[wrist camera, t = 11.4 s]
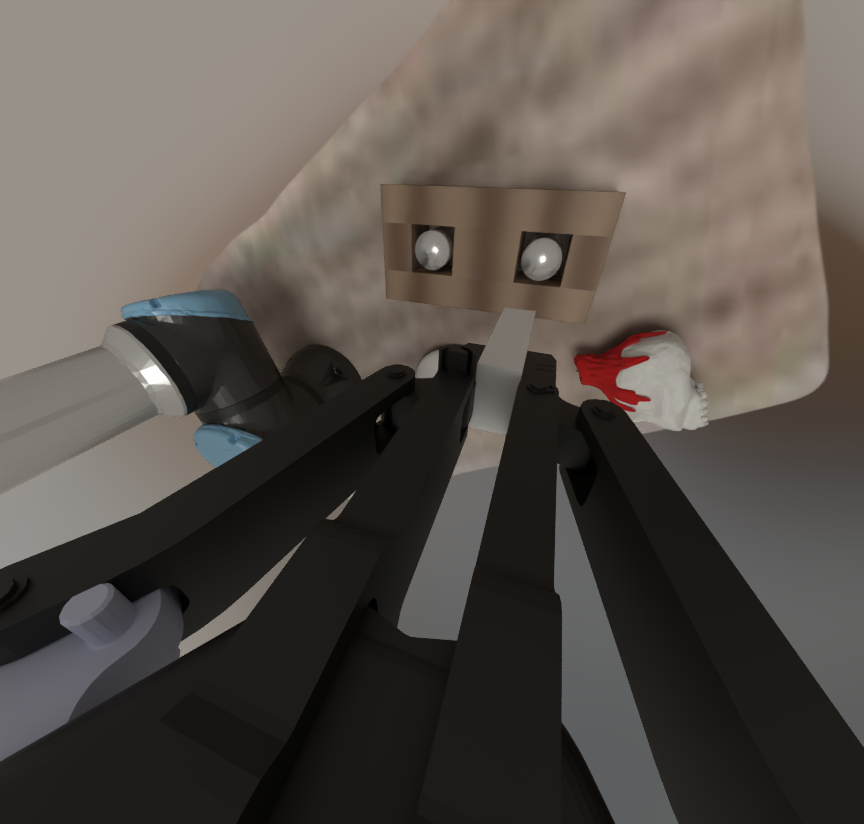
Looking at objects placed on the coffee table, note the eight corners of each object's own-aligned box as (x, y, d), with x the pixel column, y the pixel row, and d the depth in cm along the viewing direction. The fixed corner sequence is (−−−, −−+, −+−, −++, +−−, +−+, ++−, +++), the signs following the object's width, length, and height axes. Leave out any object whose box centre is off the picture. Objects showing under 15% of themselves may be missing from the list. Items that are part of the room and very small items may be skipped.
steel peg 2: (523, 268, 39) (518, 278, 35) (529, 231, 37) (525, 237, 33) (557, 272, 38) (556, 282, 34) (566, 233, 36) (566, 240, 32)
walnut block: (404, 287, 46) (386, 298, 41) (402, 184, 39) (380, 184, 35) (582, 308, 40) (585, 324, 36) (617, 191, 33) (626, 192, 29)
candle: (695, 406, 42) (570, 391, 48) (729, 320, 36) (581, 316, 42) (708, 449, 35) (562, 425, 41) (753, 353, 29) (574, 342, 35)
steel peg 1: (430, 260, 42) (415, 268, 38) (430, 225, 40) (415, 229, 36) (459, 262, 41) (447, 271, 37) (462, 227, 39) (449, 231, 35)
